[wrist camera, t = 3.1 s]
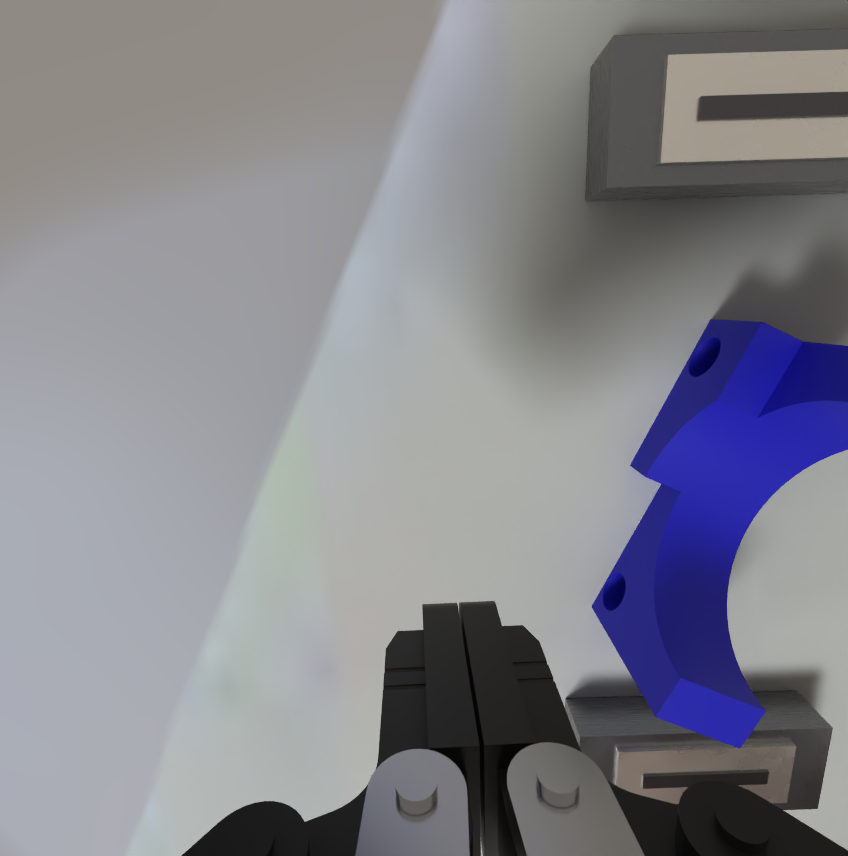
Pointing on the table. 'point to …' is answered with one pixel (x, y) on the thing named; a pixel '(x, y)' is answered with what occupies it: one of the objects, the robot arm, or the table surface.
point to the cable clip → (716, 512)
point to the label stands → (715, 177)
